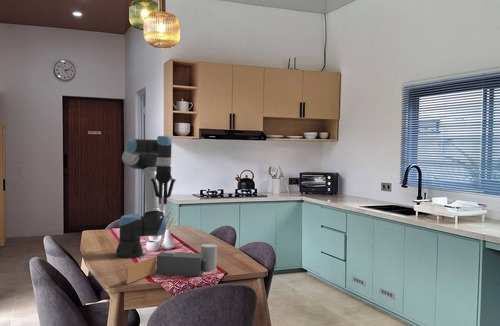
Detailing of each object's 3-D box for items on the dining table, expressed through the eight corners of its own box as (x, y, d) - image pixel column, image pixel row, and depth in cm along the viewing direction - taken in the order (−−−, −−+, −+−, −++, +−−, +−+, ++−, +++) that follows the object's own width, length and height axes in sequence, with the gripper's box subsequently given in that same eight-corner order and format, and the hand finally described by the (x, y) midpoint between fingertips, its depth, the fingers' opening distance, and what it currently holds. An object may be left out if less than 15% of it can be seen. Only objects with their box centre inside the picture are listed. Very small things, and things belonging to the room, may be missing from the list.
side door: (153, 272, 233) (153, 256, 232) (155, 272, 232) (156, 256, 232) (124, 283, 213) (124, 265, 212) (127, 284, 212) (127, 266, 212)
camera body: (156, 273, 232) (156, 254, 232) (162, 268, 242) (162, 249, 242) (203, 276, 229) (203, 256, 229) (207, 271, 239) (207, 252, 239)
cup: (200, 266, 249) (201, 243, 249) (216, 266, 250) (216, 244, 249) (200, 270, 241) (201, 247, 241) (216, 270, 242) (217, 247, 241)
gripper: (149, 165, 242) (148, 210, 243) (173, 166, 241) (172, 212, 242) (153, 164, 250) (152, 209, 251) (177, 165, 248) (176, 210, 249)
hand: (162, 210), depth 246 cm, fingers closed
